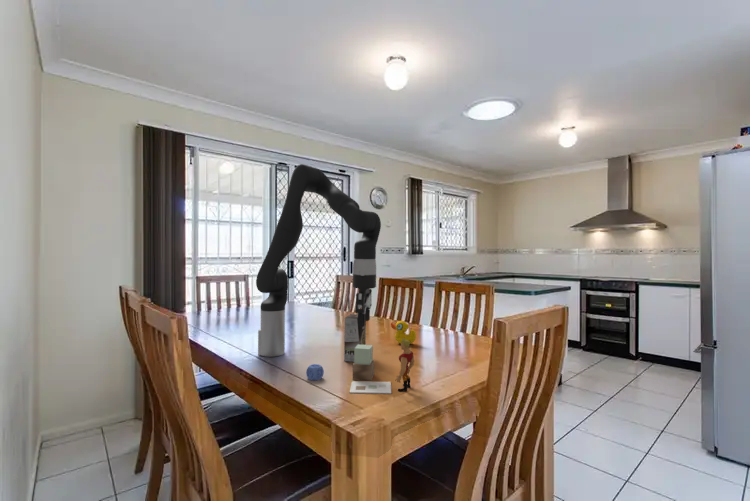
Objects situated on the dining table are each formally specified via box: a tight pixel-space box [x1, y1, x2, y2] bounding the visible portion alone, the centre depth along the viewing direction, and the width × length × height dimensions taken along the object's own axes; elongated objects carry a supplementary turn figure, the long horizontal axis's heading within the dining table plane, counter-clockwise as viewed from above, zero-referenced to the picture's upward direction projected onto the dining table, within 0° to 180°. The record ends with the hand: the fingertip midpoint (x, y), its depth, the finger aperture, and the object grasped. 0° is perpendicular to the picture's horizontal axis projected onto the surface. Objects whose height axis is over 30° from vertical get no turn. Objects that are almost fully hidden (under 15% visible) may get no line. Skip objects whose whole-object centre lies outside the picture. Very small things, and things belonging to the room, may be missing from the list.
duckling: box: [390, 320, 417, 345], centre depth 169 cm, size 11×5×10 cm, turn 70°
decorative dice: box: [305, 363, 325, 381], centre depth 123 cm, size 4×4×4 cm
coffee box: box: [343, 313, 367, 363], centre depth 146 cm, size 9×6×16 cm
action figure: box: [395, 338, 415, 392], centre depth 115 cm, size 10×4×15 cm, turn 156°
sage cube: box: [353, 344, 374, 365], centre depth 125 cm, size 5×5×5 cm
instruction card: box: [349, 380, 392, 395], centre depth 115 cm, size 12×9×1 cm
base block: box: [352, 359, 375, 382], centre depth 125 cm, size 6×6×5 cm
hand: (363, 323), depth 125 cm, fingers open, 8 cm apart
